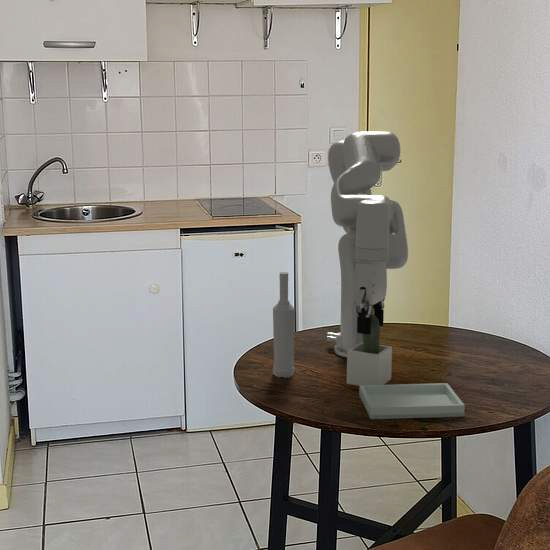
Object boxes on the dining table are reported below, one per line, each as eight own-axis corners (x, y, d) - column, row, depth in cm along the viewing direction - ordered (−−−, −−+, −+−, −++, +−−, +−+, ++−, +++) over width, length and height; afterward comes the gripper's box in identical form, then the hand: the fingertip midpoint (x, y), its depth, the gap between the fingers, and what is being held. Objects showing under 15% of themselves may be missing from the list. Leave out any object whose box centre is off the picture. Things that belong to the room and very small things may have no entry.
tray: (370, 419, 191) (370, 407, 190) (359, 396, 204) (359, 385, 204) (464, 416, 192) (464, 405, 192) (446, 393, 206) (447, 383, 205)
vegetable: (380, 379, 215) (382, 297, 211) (376, 385, 211) (378, 301, 207) (362, 377, 217) (363, 295, 212) (357, 383, 213) (359, 300, 208)
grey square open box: (346, 383, 212) (347, 350, 211) (359, 373, 219) (360, 341, 218) (378, 389, 209) (379, 355, 207) (391, 378, 216) (392, 346, 214)
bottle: (268, 374, 219) (268, 273, 213) (283, 369, 222) (283, 269, 217) (284, 379, 215) (284, 276, 210) (298, 374, 219) (299, 272, 214)
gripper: (370, 246, 217) (369, 318, 221) (341, 259, 202) (340, 336, 206) (400, 249, 213) (398, 322, 217) (373, 262, 198) (371, 341, 202)
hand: (370, 328), depth 211 cm, fingers open, 7 cm apart
